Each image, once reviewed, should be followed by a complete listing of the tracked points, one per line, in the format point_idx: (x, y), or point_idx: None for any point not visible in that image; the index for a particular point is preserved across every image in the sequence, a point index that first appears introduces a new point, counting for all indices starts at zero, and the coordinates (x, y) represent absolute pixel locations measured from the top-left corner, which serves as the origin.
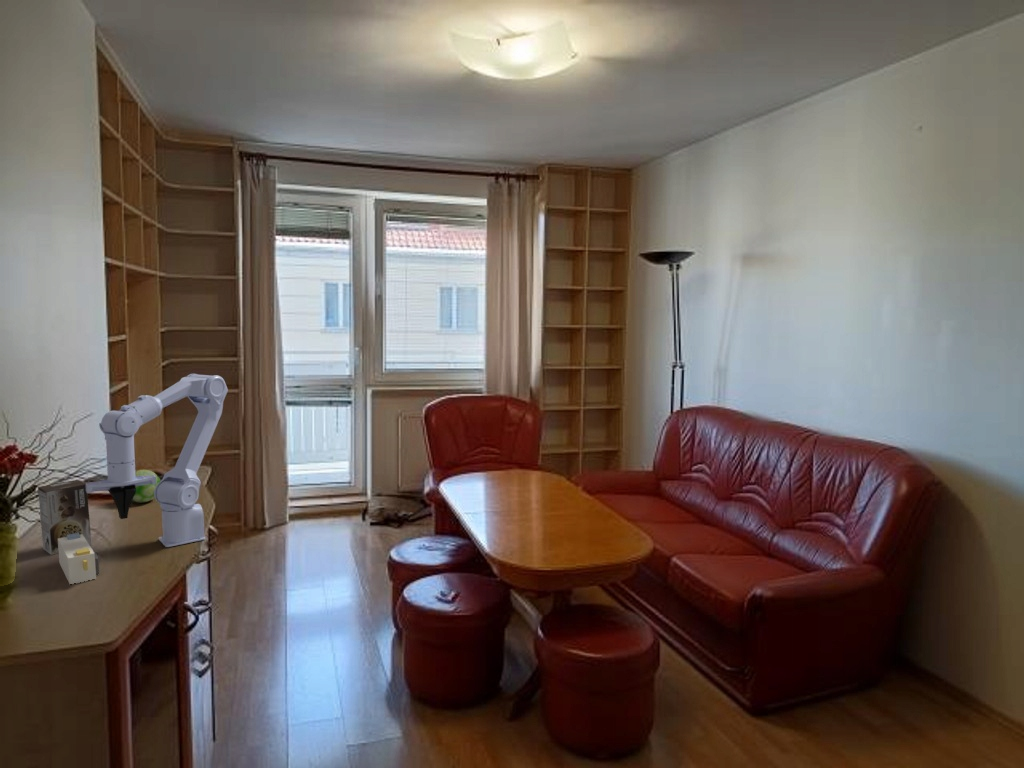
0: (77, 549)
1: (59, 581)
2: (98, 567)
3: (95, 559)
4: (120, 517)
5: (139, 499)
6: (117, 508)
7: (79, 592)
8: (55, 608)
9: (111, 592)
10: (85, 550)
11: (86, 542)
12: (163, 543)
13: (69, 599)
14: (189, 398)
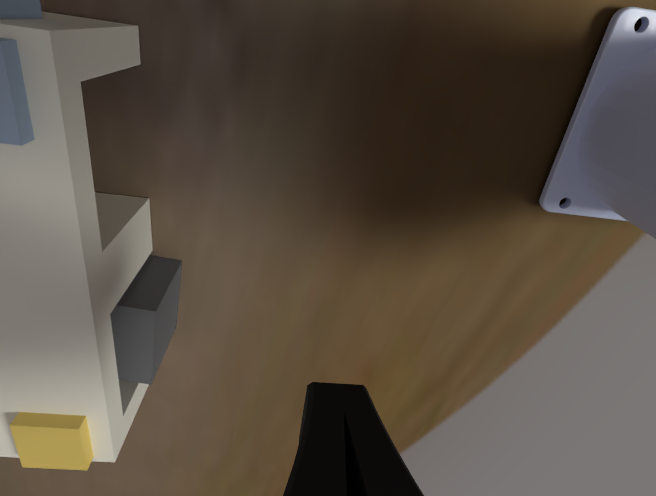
0: (25, 367)
1: None
2: (165, 350)
3: (140, 382)
4: (300, 438)
5: None
6: (297, 459)
7: None
8: (23, 483)
9: (186, 475)
10: (64, 452)
11: (80, 283)
12: (560, 156)
13: None
14: None
